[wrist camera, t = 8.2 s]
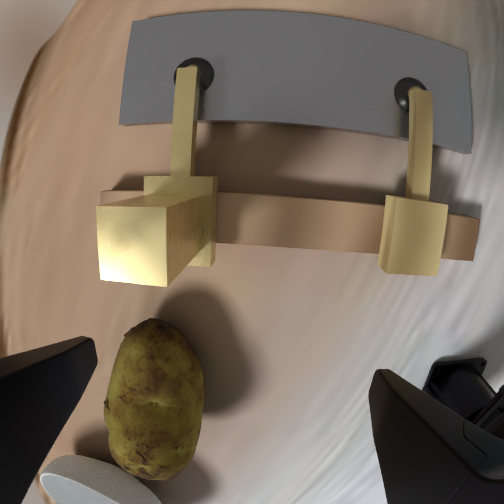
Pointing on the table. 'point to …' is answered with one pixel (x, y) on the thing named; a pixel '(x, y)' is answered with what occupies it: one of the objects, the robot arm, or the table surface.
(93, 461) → the cereal bowl
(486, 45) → the table surface
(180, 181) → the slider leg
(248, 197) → the rail
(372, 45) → the hole plate
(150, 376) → the potato
